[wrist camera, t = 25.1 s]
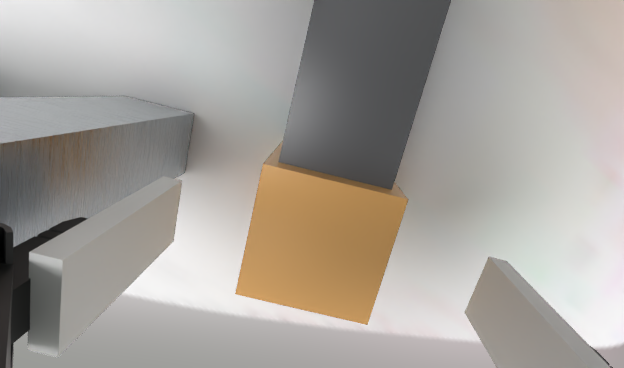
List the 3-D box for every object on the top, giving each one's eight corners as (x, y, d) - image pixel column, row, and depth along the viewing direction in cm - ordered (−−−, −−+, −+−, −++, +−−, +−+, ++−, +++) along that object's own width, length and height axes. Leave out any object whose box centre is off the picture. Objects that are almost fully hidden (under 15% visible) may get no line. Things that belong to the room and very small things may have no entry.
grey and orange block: (346, -135, 19) (367, -326, 10) (453, -105, 19) (561, -269, 11) (266, 222, 24) (235, 294, 16) (351, 242, 24) (367, 324, 16)
